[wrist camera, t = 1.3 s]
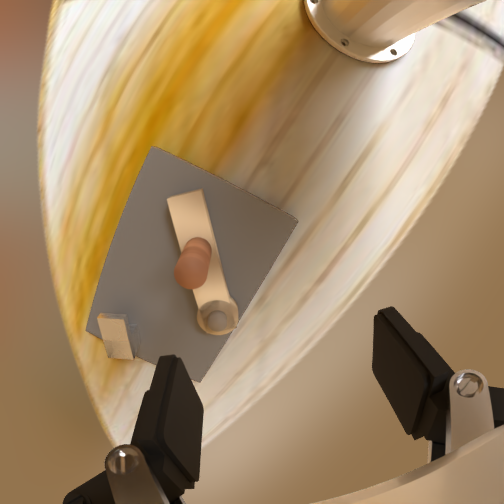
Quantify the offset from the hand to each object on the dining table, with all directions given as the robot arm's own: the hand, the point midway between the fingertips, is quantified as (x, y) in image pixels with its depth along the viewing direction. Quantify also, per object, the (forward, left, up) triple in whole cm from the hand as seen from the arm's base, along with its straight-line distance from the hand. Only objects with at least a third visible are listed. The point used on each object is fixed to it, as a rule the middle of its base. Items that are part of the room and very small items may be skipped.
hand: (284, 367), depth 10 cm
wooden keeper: (+15, -8, -18) cm, 25 cm away
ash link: (+5, -3, -18) cm, 19 cm away
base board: (+8, -4, -20) cm, 22 cm away
